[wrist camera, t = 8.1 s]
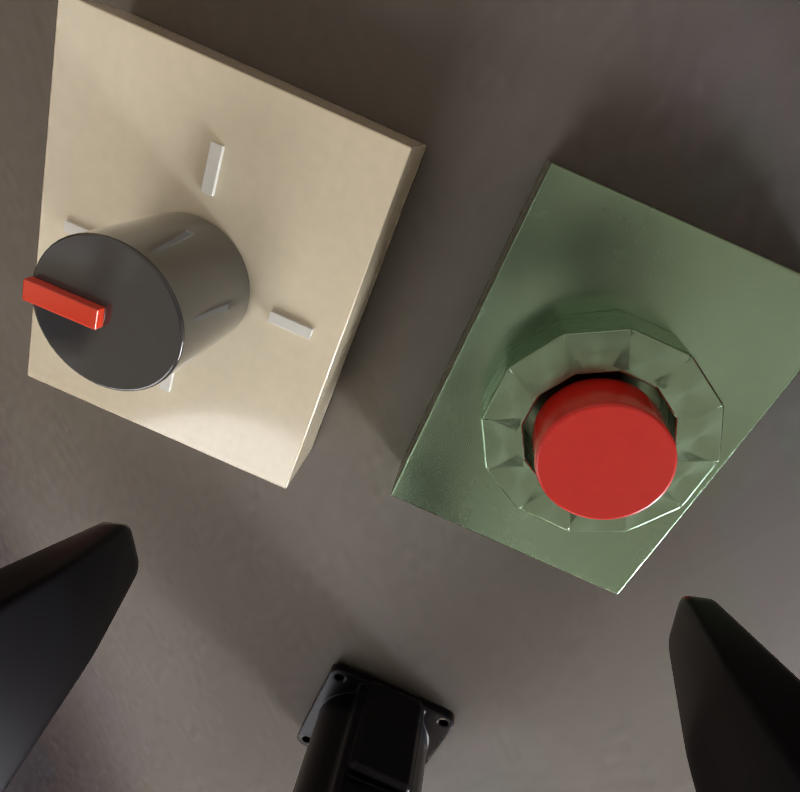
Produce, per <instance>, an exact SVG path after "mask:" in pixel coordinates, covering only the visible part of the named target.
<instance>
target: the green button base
mask: <svg viewBox="0 0 800 792" xmlns="http://www.w3.org/2000/svg"><path fill="white" fill-rule="evenodd" d="M799 372H800V272H799V271H797V270H794V269H792V268H790V267H788V266H785V265H783V264H781V263H779V262H776V261H774V260H772V259H770V258H767V257H765V256H763V255H761V254H758V253H756V252H754V251H752V250H749V249H747V248H745V247H743V246H741V245H738V244H736V243H734V242H732V241H729V240H727V239H725V238H723V237H720V236H718V235H716V234H714V233H711V232H709V231H707V230H705V229H702V228H700V227H698V226H696V225H693V224H691V223H689V222H687V221H684V220H682V219H680V218H678V217H676V216H673V215H671V214H669V213H667V212H664V211H662V210H660V209H658V208H655V207H653V206H651V205H649V204H646V203H644V202H642V201H640V200H637V199H635V198H633V197H631V196H628V195H626V194H624V193H622V192H620V191H617V190H615V189H613V188H611V187H608V186H606V185H604V184H602V183H599V182H597V181H595V180H593V179H590V178H588V177H586V176H584V175H581V174H579V173H577V172H575V171H572V170H570V169H568V168H566V167H563V166H561V165H559V164H557V163H555V162H552V161H550V160H546V162H545V164H544V166H543V168H542V170H541V172H540V174H539V176H538V178H537V181H536V183H535V185H534V187H533V189H532V191H531V193H530V195H529V197H528V199H527V201H526V203H525V206H524V208H523V210H522V212H521V214H520V216H519V218H518V220H517V222H516V224H515V226H514V229H513V231H512V233H511V235H510V237H509V239H508V241H507V243H506V245H505V247H504V249H503V252H502V254H501V256H500V258H499V260H498V262H497V264H496V266H495V268H494V270H493V272H492V274H491V277H490V279H489V281H488V283H487V285H486V287H485V289H484V291H483V293H482V295H481V297H480V300H479V302H478V304H477V306H476V308H475V310H474V312H473V314H472V316H471V318H470V320H469V323H468V325H467V327H466V329H465V331H464V333H463V335H462V337H461V339H460V341H459V343H458V345H457V348H456V350H455V352H454V354H453V356H452V358H451V360H450V362H449V364H448V366H447V368H446V371H445V373H444V375H443V377H442V379H441V381H440V383H439V385H438V387H437V389H436V391H435V394H434V396H433V398H432V400H431V402H430V404H429V406H428V408H427V410H426V412H425V414H424V416H423V419H422V421H421V423H420V425H419V427H418V429H417V431H416V433H415V435H414V437H413V439H412V442H411V444H410V446H409V448H408V450H407V452H406V454H405V456H404V458H403V460H402V462H401V465H400V468H399V471H398V474H397V477H396V480H395V483H394V486H393V489H392V492H391V495H392V496H394V497H396V498H399V499H401V500H403V501H406V502H408V503H410V504H412V505H415V506H417V507H419V508H422V509H424V510H426V511H428V512H431V513H433V514H435V515H437V516H440V517H442V518H444V519H447V520H449V521H451V522H453V523H456V524H458V525H460V526H463V527H465V528H467V529H469V530H472V531H474V532H476V533H478V534H481V535H483V536H485V537H488V538H490V539H492V540H494V541H497V542H499V543H501V544H504V545H506V546H508V547H510V548H513V549H515V550H517V551H519V552H522V553H524V554H526V555H529V556H531V557H533V558H535V559H538V560H540V561H542V562H545V563H547V564H549V565H551V566H554V567H556V568H558V569H560V570H563V571H565V572H567V573H570V574H572V575H574V576H576V577H579V578H581V579H583V580H586V581H588V582H590V583H592V584H595V585H597V586H599V587H601V588H604V589H606V590H608V591H611V592H613V593H615V594H618V593H619V592H620V591H621V590H622V588H623V587H624V586H625V585H626V583H627V582H628V581H629V580H630V579H631V577H632V576H633V575H634V574H635V572H636V571H637V570H638V569H639V568H640V566H641V565H642V564H643V563H644V561H645V560H646V559H647V558H648V557H649V555H650V554H651V553H652V552H653V550H654V549H655V548H656V547H657V546H658V544H659V543H660V542H661V541H662V539H663V538H664V537H665V536H666V534H667V533H668V532H669V531H670V530H671V528H672V527H673V526H674V525H675V523H676V522H677V521H678V520H679V519H680V517H681V516H682V515H683V514H684V512H685V511H686V510H687V509H688V508H689V506H690V505H691V504H692V503H693V501H694V500H695V499H696V498H697V496H698V495H699V494H700V493H701V492H702V490H703V489H704V488H705V487H706V485H707V484H708V483H709V482H710V481H711V479H712V478H713V477H714V476H715V474H716V473H717V472H718V471H719V470H720V468H721V467H722V466H723V465H724V463H725V462H726V461H727V460H728V459H729V457H730V456H731V455H732V454H733V452H734V451H735V450H736V449H737V447H738V446H739V445H740V444H741V443H742V441H743V440H744V439H745V438H746V436H747V435H748V434H749V433H750V432H751V430H752V429H753V428H754V427H755V425H756V424H757V423H758V422H759V421H760V419H761V418H762V417H763V416H764V414H765V413H766V412H767V411H768V409H769V408H770V407H771V406H772V405H773V403H774V402H775V401H776V400H777V398H778V397H779V396H780V395H781V394H782V392H783V391H784V390H785V389H786V387H787V386H788V385H789V384H790V383H791V381H792V380H793V379H794V378H795V376H796V375H797V374H798V373H799ZM593 378H608V379H615V380H619V381H623V382H626V383H629V384H631V385H633V386H635V387H637V388H638V389H640V390H641V391H643V392H644V393H645V394H646V395H647V396H648V397H649V398H650V399H651V400H652V401H653V402H654V404H655V405H656V407H657V409H658V411H659V412H660V414H661V416H662V418H663V420H664V422H665V424H666V426H667V427H668V429H669V431H670V433H671V435H672V437H673V439H674V442H675V445H676V449H677V468H676V472H675V475H674V478H673V480H672V482H671V484H670V486H669V487H668V489H667V490H666V492H665V493H664V494H663V495H662V496H661V497H660V498H659V499H658V500H657V501H656V502H655V503H653V504H652V505H651V506H649V507H648V508H646V509H644V510H642V511H640V512H638V513H636V514H633V515H630V516H627V517H623V518H618V519H609V520H598V519H589V518H585V517H581V516H577V515H575V514H572V513H570V512H568V511H566V510H564V509H562V508H561V507H559V506H558V505H557V504H555V503H554V502H553V501H552V500H551V499H550V498H549V497H548V496H547V495H546V494H545V492H544V491H543V489H542V488H541V486H540V484H539V482H538V479H537V476H536V473H535V465H534V451H533V426H534V422H535V419H536V416H537V414H538V412H539V410H540V409H541V407H542V406H543V405H544V403H545V402H546V401H547V400H548V399H549V398H550V397H551V396H552V395H553V394H555V393H556V392H557V391H559V390H560V389H562V388H564V387H566V386H568V385H570V384H572V383H575V382H578V381H581V380H586V379H593Z"/></svg>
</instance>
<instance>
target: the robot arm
mask: <svg viewBox="0 0 800 792" xmlns="http://www.w3.org/2000/svg"><path fill="white" fill-rule="evenodd" d="M138 563H139V562H138V556H137V552H136V548H135V544H134V540H133V535H132V531H131V529H130V528H129V526H128V525H125V524H121V523H113V522H103V523H100V524H98V525H96V526H93V527H91V528H89V529H87V530H85V531H82V532H80V533H78V534H76V535H74V536H71V537H69V538H67V539H65V540H62V541H60V542H58V543H56V544H54V545H51V546H49V547H47V548H45V549H43V550H40V551H38V552H36V553H34V554H32V555H29V556H27V557H25V558H23V559H20V560H18V561H16V562H14V563H12V564H9V565H7V566H5V567H3V568H1V569H0V792H4V790H5V789H6V787H7V786H8V784H9V783H10V781H11V780H12V778H13V777H14V775H15V774H16V772H17V771H18V769H19V768H20V766H21V765H22V763H23V762H24V760H25V759H26V757H27V756H28V754H29V753H30V751H31V749H32V748H33V746H34V745H35V743H36V742H37V740H38V739H39V737H40V736H41V734H42V733H43V731H44V730H45V728H46V727H47V725H48V724H49V722H50V721H51V719H52V718H53V716H54V715H55V713H56V712H57V710H58V709H59V707H60V706H61V704H62V702H63V701H64V699H65V698H66V696H67V695H68V693H69V692H70V690H71V689H72V687H73V686H74V684H75V683H76V681H77V680H78V678H79V677H80V675H81V674H82V672H83V671H84V669H85V667H86V666H87V664H88V663H89V661H90V659H91V658H92V656H93V654H94V653H95V651H96V649H97V647H98V646H99V644H100V642H101V640H102V638H103V637H104V635H105V633H106V631H107V629H108V627H109V625H110V623H111V622H112V620H113V618H114V616H115V614H116V612H117V610H118V608H119V607H120V605H121V603H122V601H123V599H124V597H125V595H126V593H127V592H128V590H129V588H130V586H131V584H132V582H133V580H134V578H135V576H136V574H137V571H138ZM669 652H670V659H671V665H672V671H673V677H674V683H675V689H676V695H677V701H678V708H679V714H680V720H681V726H682V732H683V738H684V744H685V749H686V754H687V759H688V763H689V767H690V771H691V775H692V779H693V782H694V786H695V790H696V792H800V680H799V679H798V678H797V677H796V676H795V675H794V674H793V673H792V672H790V671H789V670H788V669H787V668H786V667H785V666H784V665H783V664H782V663H781V662H780V661H779V660H778V659H777V658H775V657H774V656H773V655H772V654H771V653H770V652H769V651H768V650H767V649H766V648H765V647H764V646H763V645H762V644H760V643H759V642H758V641H757V640H756V639H755V638H754V637H753V636H752V635H751V634H750V633H749V632H748V631H747V630H745V629H744V628H743V627H742V626H741V625H740V624H739V623H738V622H737V621H736V620H735V619H734V618H733V617H732V616H730V615H729V614H728V613H727V612H726V611H725V610H724V609H723V608H722V607H721V606H720V605H719V604H718V603H716V602H715V601H713V600H711V599H708V598H700V597H692V596H685V597H683V598H682V599H681V600H680V602H679V605H678V609H677V612H676V615H675V619H674V622H673V626H672V629H671V633H670V637H669ZM453 725H454V714H453V713H452V712H451V711H450V710H448V709H446V708H444V707H441V706H439V705H437V704H434V703H432V702H430V701H427V700H425V699H423V698H421V697H418V696H416V695H414V694H411V693H409V692H407V691H405V690H402V689H400V688H398V687H395V686H393V685H391V684H388V683H386V682H384V681H382V680H379V679H377V678H375V677H372V676H370V675H368V674H366V673H363V672H361V671H359V670H356V669H354V668H352V667H349V666H347V665H345V664H341V663H337V664H334V665H333V666H332V668H331V670H330V672H329V674H328V676H327V678H326V680H325V682H324V683H323V685H322V687H321V689H320V691H319V693H318V695H317V697H316V699H315V701H314V703H313V705H312V707H311V709H310V711H309V713H308V714H307V716H306V718H305V720H304V722H303V724H302V726H301V728H300V731H299V733H298V737H297V738H298V741H299V742H300V743H302V744H304V745H306V746H308V747H307V750H306V754H305V757H304V760H303V763H302V766H301V769H300V772H299V775H298V778H297V781H296V784H295V787H294V790H293V792H421V789H422V782H423V774H424V767H425V764H426V763H427V762H428V760H429V759H430V757H431V756H432V755H433V753H434V752H435V751H436V749H437V748H438V747H439V745H440V744H441V742H442V741H443V740H444V738H445V737H446V736H447V734H448V733H449V732H450V730H451V729H452V728H453Z"/></svg>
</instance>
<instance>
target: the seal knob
mask: <svg viewBox="0 0 800 792" xmlns="http://www.w3.org/2000/svg"><path fill="white" fill-rule="evenodd" d="M22 299H23V300H25V301H27V302H30V303H32V304H33V307H34V311H35V315H36V318H37V321H38V323H39V326H40V328H41V330H42V332H43V334H44V336H45V338H46V339H47V341H48V343H49V344H50V346H51V347H52V348H53V350H54V351H55V352H56V353H57V355H58V356H59V357H60V358H61V359H62V360H63V361H64V362H65V363H66V364H67V365H68V366H69V367H70V368H71V369H73V370H74V371H75V372H77V373H78V374H79V375H81V376H83V377H84V378H86V379H87V380H89V381H91V382H93V383H95V384H97V385H100V386H103V387H106V388H109V389H113V390H119V391H139V390H145V389H148V388H151V387H154V386H156V385H158V384H160V383H161V382H163V381H164V380H165V379H167V378H168V377H170V376H171V375H172V374H174V373H175V372H177V371H178V370H179V369H181V368H182V367H184V366H185V365H186V364H188V363H189V362H191V361H192V360H193V359H195V358H196V357H198V356H199V355H200V354H202V353H203V352H204V351H206V350H207V349H209V348H210V347H211V346H213V345H214V344H216V343H217V342H218V341H220V340H221V339H223V338H224V337H225V336H227V335H228V334H230V333H231V332H232V331H233V330H234V329H235V328H236V327H237V326H238V325H239V324H240V322H241V321H242V320H243V318H244V316H245V314H246V311H247V308H248V304H249V299H250V282H249V276H248V271H247V268H246V265H245V262H244V260H243V258H242V256H241V254H240V252H239V251H238V249H237V247H236V246H235V245H234V243H233V242H232V241H231V239H230V238H229V237H228V236H227V235H226V234H225V233H224V232H223V231H222V230H220V229H219V228H218V227H217V226H215V225H214V224H212V223H211V222H209V221H207V220H205V219H203V218H201V217H199V216H196V215H193V214H190V213H185V212H166V213H162V214H158V215H153V216H149V217H145V218H140V219H136V220H132V221H127V222H123V223H119V224H115V225H110V226H106V227H102V228H97V229H93V230H89V231H84V232H80V233H76V234H72V235H68V236H66V237H63V238H61V239H59V240H58V241H56V242H55V243H53V244H52V245H51V246H50V247H49V248H48V249H47V250H46V251H45V252H44V253H43V255H42V256H41V258H40V259H39V261H38V263H37V265H36V268H35V271H34V275H33V276H31V277H28V278H25V279H24V280H23V296H22Z"/></svg>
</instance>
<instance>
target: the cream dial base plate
mask: <svg viewBox="0 0 800 792" xmlns="http://www.w3.org/2000/svg"><path fill="white" fill-rule="evenodd" d="M425 149H426V145H425V144H423V143H421V142H418V141H416V140H414V139H412V138H409V137H407V136H405V135H403V134H400V133H398V132H396V131H394V130H392V129H389V128H387V127H385V126H383V125H380V124H378V123H376V122H374V121H371V120H369V119H367V118H365V117H362V116H360V115H358V114H356V113H353V112H351V111H349V110H347V109H344V108H342V107H340V106H338V105H335V104H333V103H331V102H329V101H326V100H324V99H322V98H320V97H317V96H315V95H313V94H311V93H308V92H306V91H304V90H302V89H299V88H297V87H295V86H293V85H291V84H288V83H286V82H284V81H282V80H279V79H277V78H275V77H273V76H270V75H268V74H266V73H264V72H261V71H259V70H257V69H255V68H252V67H250V66H248V65H246V64H243V63H241V62H239V61H237V60H234V59H232V58H230V57H228V56H225V55H223V54H221V53H219V52H216V51H214V50H212V49H210V48H207V47H205V46H203V45H201V44H199V43H196V42H194V41H192V40H190V39H187V38H185V37H183V36H181V35H178V34H176V33H174V32H172V31H169V30H167V29H165V28H163V27H160V26H158V25H156V24H154V23H151V22H149V21H147V20H145V19H142V18H140V17H138V16H136V15H133V14H131V13H129V12H126V11H123V10H120V9H116V8H113V7H110V6H107V5H104V4H100V3H97V2H94V1H91V0H58V11H57V23H56V35H55V47H54V60H53V72H52V84H51V96H50V108H49V120H48V133H47V145H46V157H45V169H44V181H43V194H42V206H41V218H40V230H39V242H38V254H37V263H38V261H39V259H40V258H41V256H42V255H43V253H44V252H45V251H46V250H47V249H48V248H49V247H50V246H51V245H52V244H53V243H55V242H56V241H58V240H59V239H61V238H63V237H66V236H68V235H72V234H76V233H80V232H84V231H89V230H93V229H97V228H102V227H106V226H110V225H115V224H119V223H123V222H127V221H132V220H136V219H140V218H145V217H149V216H153V215H158V214H162V213H166V212H185V213H190V214H193V215H196V216H199V217H201V218H203V219H205V220H207V221H209V222H211V223H212V224H214V225H215V226H217V227H218V228H219V229H220V230H222V231H223V232H224V233H225V234H226V235H227V236H228V237H229V238H230V239H231V241H232V242H233V243H234V245H235V246H236V247H237V249H238V251H239V252H240V254H241V256H242V258H243V260H244V262H245V265H246V268H247V271H248V276H249V282H250V299H249V304H248V308H247V311H246V314H245V316H244V318H243V320H242V321H241V322H240V324H239V325H238V326H237V327H236V328H235V329H234V330H233V331H232V332H231V333H230V334H228V335H227V336H225V337H224V338H223V339H221V340H220V341H218V342H217V343H216V344H214V345H213V346H211V347H210V348H209V349H207V350H206V351H204V352H203V353H202V354H200V355H199V356H198V357H196V358H195V359H193V360H192V361H191V362H189V363H188V364H186V365H185V366H184V367H182V368H181V369H179V370H178V371H177V372H175V373H174V374H172V375H171V376H170V377H168V378H167V379H165V380H164V381H163V382H161V383H160V384H158V385H156V386H154V387H151V388H148V389H145V390H139V391H119V390H113V389H109V388H106V387H103V386H100V385H97V384H95V383H93V382H91V381H89V380H87V379H86V378H84V377H83V376H81V375H79V374H78V373H77V372H75V371H74V370H73V369H71V368H70V367H69V366H68V365H67V364H66V363H65V362H64V361H63V360H62V359H61V358H60V357H59V356H58V355H57V353H56V352H55V351H54V350H53V348H52V347H51V346H50V344H49V343H48V341H47V339H46V338H45V336H44V334H43V332H42V330H41V328H40V326H39V323H38V321H37V318H36V315H35V311H34V307H33V315H32V327H31V340H30V352H29V364H28V376H30V377H32V378H34V379H37V380H39V381H41V382H44V383H46V384H48V385H50V386H53V387H55V388H57V389H60V390H62V391H64V392H66V393H69V394H71V395H73V396H75V397H78V398H80V399H82V400H85V401H87V402H89V403H91V404H94V405H96V406H98V407H101V408H103V409H105V410H107V411H110V412H112V413H114V414H117V415H119V416H121V417H123V418H126V419H128V420H130V421H132V422H135V423H137V424H139V425H142V426H144V427H146V428H148V429H151V430H153V431H155V432H158V433H160V434H162V435H164V436H167V437H169V438H171V439H174V440H176V441H178V442H180V443H183V444H185V445H187V446H190V447H192V448H194V449H196V450H199V451H201V452H203V453H205V454H208V455H210V456H212V457H215V458H217V459H219V460H221V461H224V462H226V463H228V464H231V465H233V466H235V467H237V468H240V469H242V470H244V471H247V472H249V473H251V474H253V475H256V476H258V477H260V478H263V479H265V480H267V481H269V482H272V483H274V484H276V485H278V486H281V487H283V488H287V486H288V485H289V483H290V482H291V480H292V478H293V477H294V475H295V474H296V472H297V471H298V469H299V467H300V466H301V464H302V463H303V461H304V459H305V458H306V456H307V455H308V453H309V452H310V450H311V448H312V446H313V444H314V441H315V439H316V436H317V433H318V431H319V428H320V425H321V423H322V420H323V418H324V415H325V412H326V410H327V407H328V404H329V402H330V399H331V396H332V394H333V391H334V389H335V386H336V383H337V381H338V378H339V375H340V373H341V370H342V367H343V365H344V362H345V360H346V357H347V354H348V352H349V349H350V346H351V344H352V341H353V339H354V336H355V333H356V331H357V328H358V325H359V323H360V320H361V317H362V315H363V312H364V310H365V307H366V304H367V302H368V299H369V296H370V294H371V291H372V289H373V286H374V283H375V281H376V278H377V275H378V273H379V270H380V267H381V265H382V262H383V260H384V257H385V254H386V252H387V249H388V246H389V244H390V241H391V239H392V236H393V233H394V231H395V228H396V225H397V223H398V220H399V217H400V215H401V212H402V210H403V207H404V204H405V202H406V199H407V196H408V194H409V191H410V189H411V186H412V183H413V181H414V178H415V175H416V173H417V170H418V167H419V165H420V162H421V160H422V157H423V154H424V152H425Z"/></svg>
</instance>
